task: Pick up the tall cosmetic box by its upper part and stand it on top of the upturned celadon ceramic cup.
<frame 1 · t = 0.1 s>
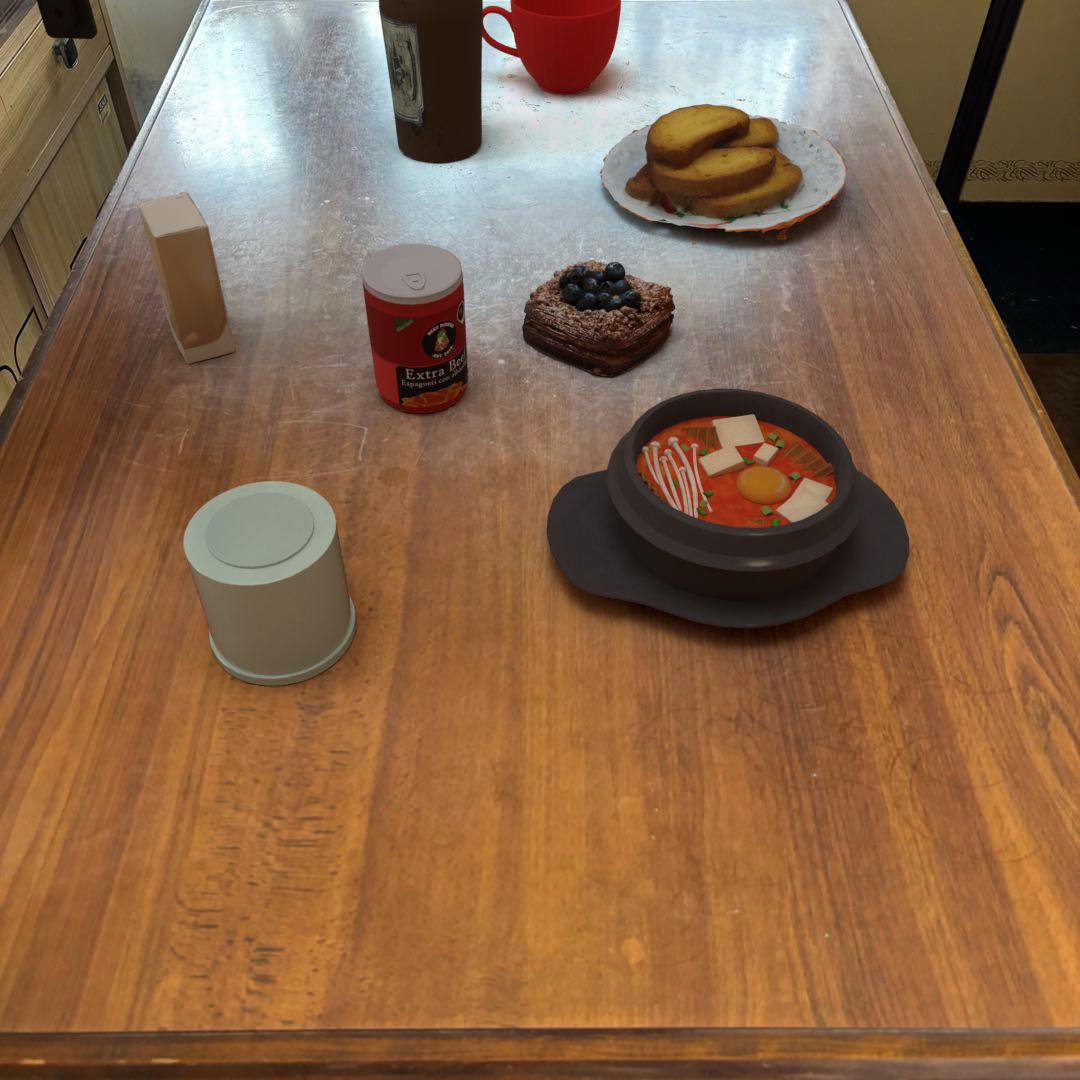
hand: (100, 10, 75), 28 cm above the table, tool pointing down, fingers open, 9 cm apart
cosmetic box: (203, 343, 96), on the table
ceramic cup: (548, 84, 136), on the table
casserole: (722, 548, 78), on the table
upturned cup: (284, 629, 72), on the table
canned food: (422, 388, 91), on the table
pastry: (595, 334, 97), on the table
food on plate: (720, 190, 116), on the table
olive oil: (439, 146, 124), on the table
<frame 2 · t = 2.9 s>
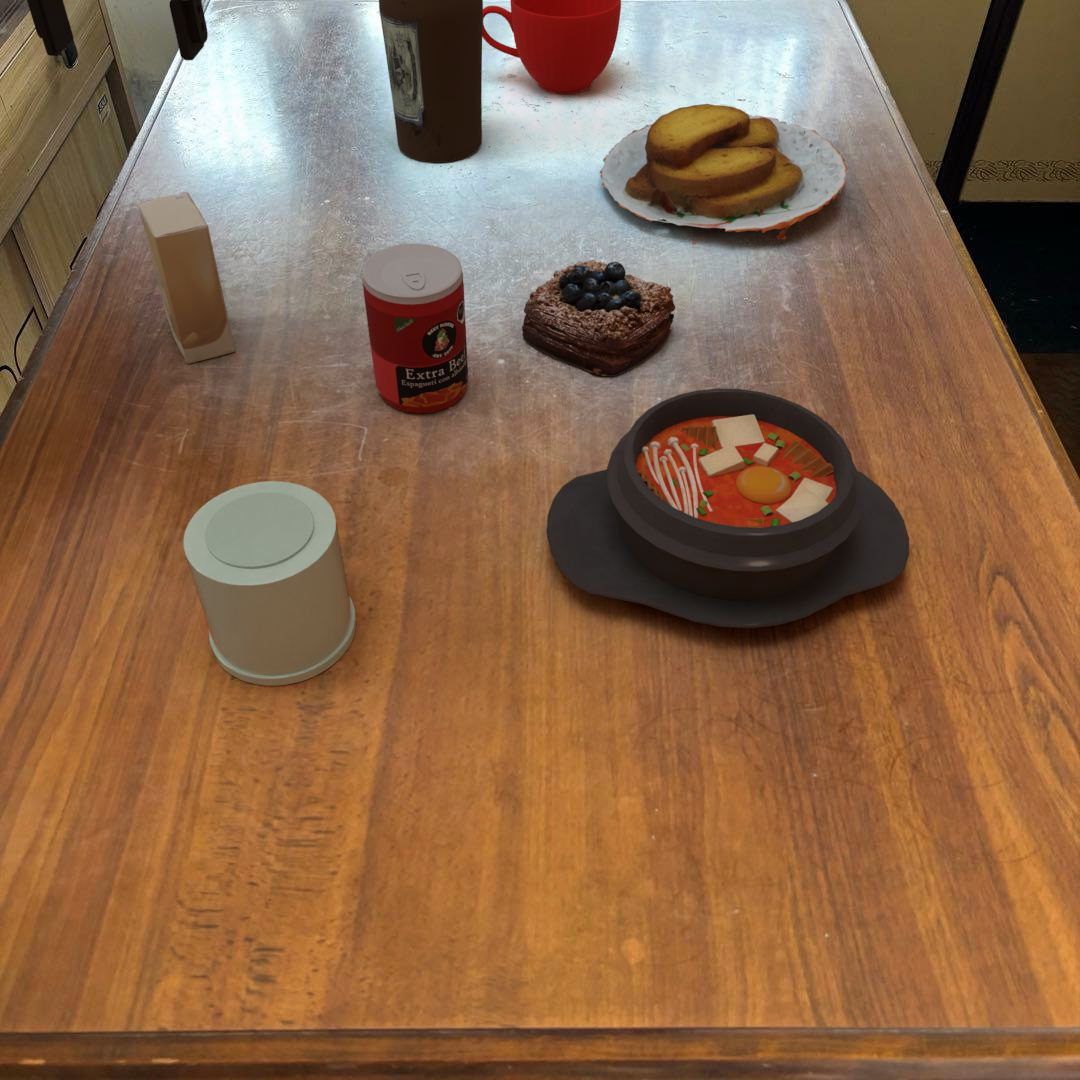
hand: (127, 50, 78), 25 cm above the table, tool pointing down, fingers open, 9 cm apart
nothing on the table moved.
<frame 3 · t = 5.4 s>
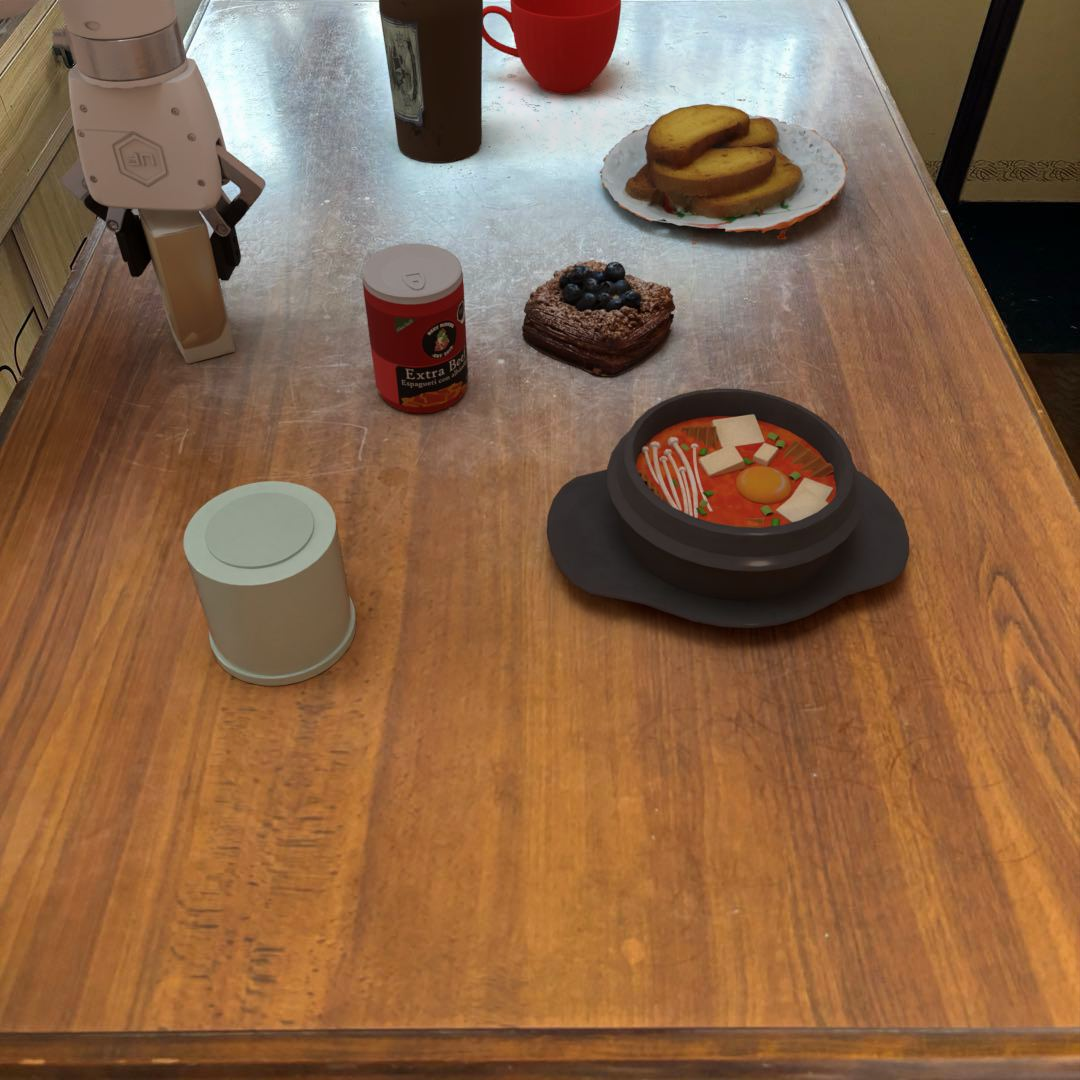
hand: (185, 268, 91), 7 cm above the table, tool pointing down, fingers closed on cosmetic box, 6 cm apart
cosmetic box: (203, 343, 96), on the table, touching gripper
everything else where it was.
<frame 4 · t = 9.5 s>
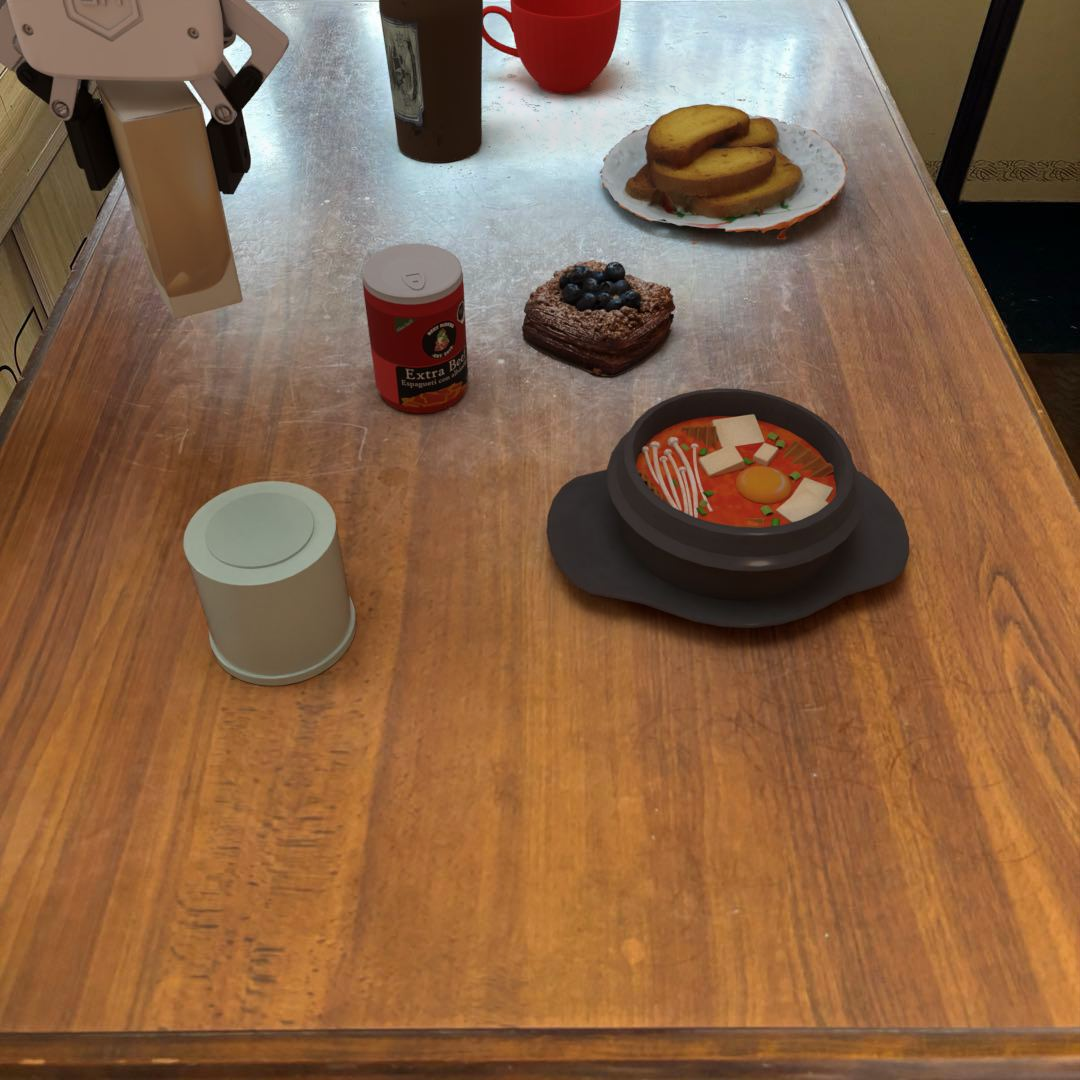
hand: (169, 179, 62), 26 cm above the table, tool pointing down, fingers closed on cosmetic box, 6 cm apart
cosmetic box: (197, 291, 67), point 18 cm above the table, touching gripper
everything else where it was.
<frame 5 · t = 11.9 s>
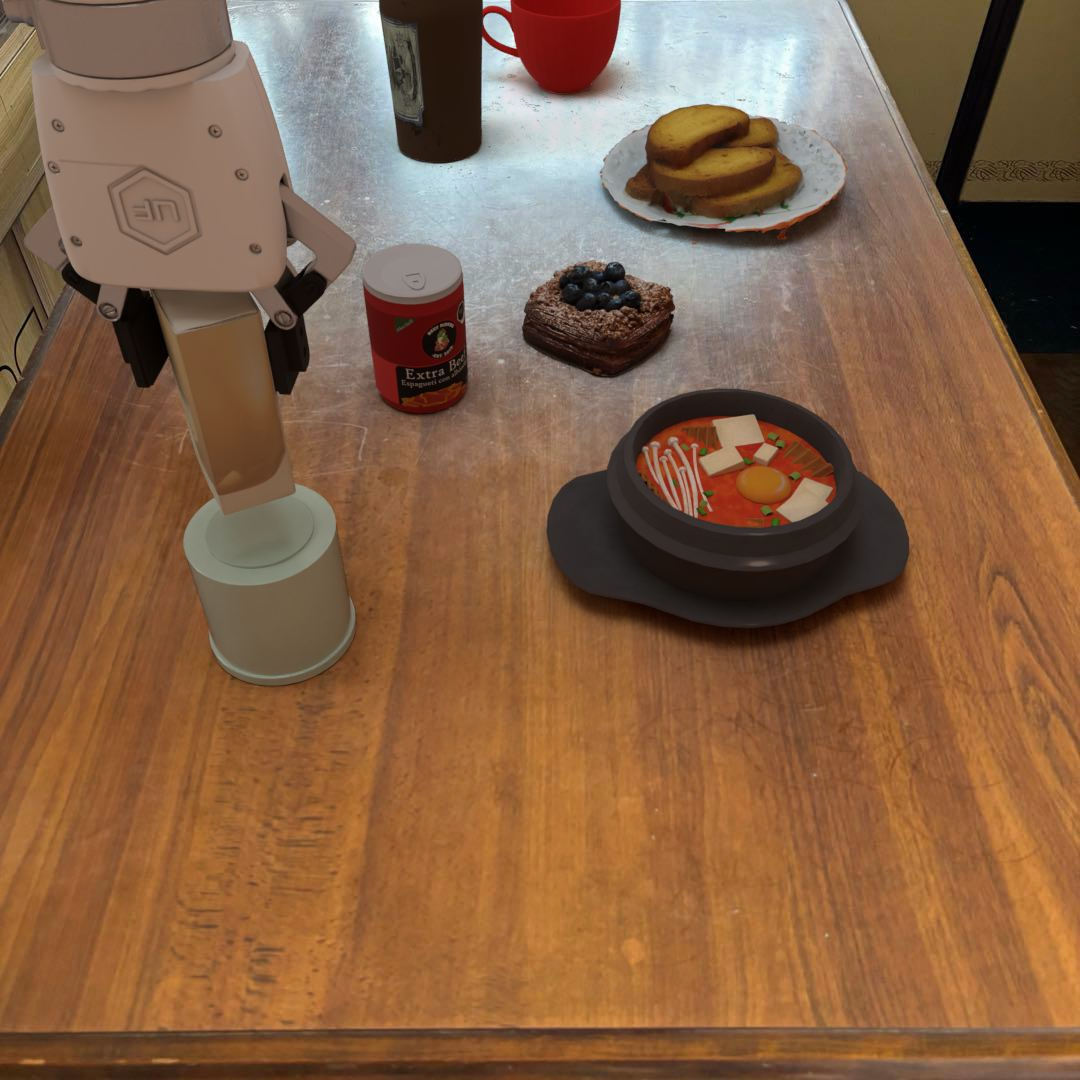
hand: (221, 373, 58), 20 cm above the table, tool pointing down, fingers closed on cosmetic box, 6 cm apart
cosmetic box: (246, 477, 63), point 13 cm above the table, touching gripper
everything else where it was.
when the fingers open (16 cm above the table, at t = 13.6 s): cosmetic box stays where it is, resting on upturned cup.
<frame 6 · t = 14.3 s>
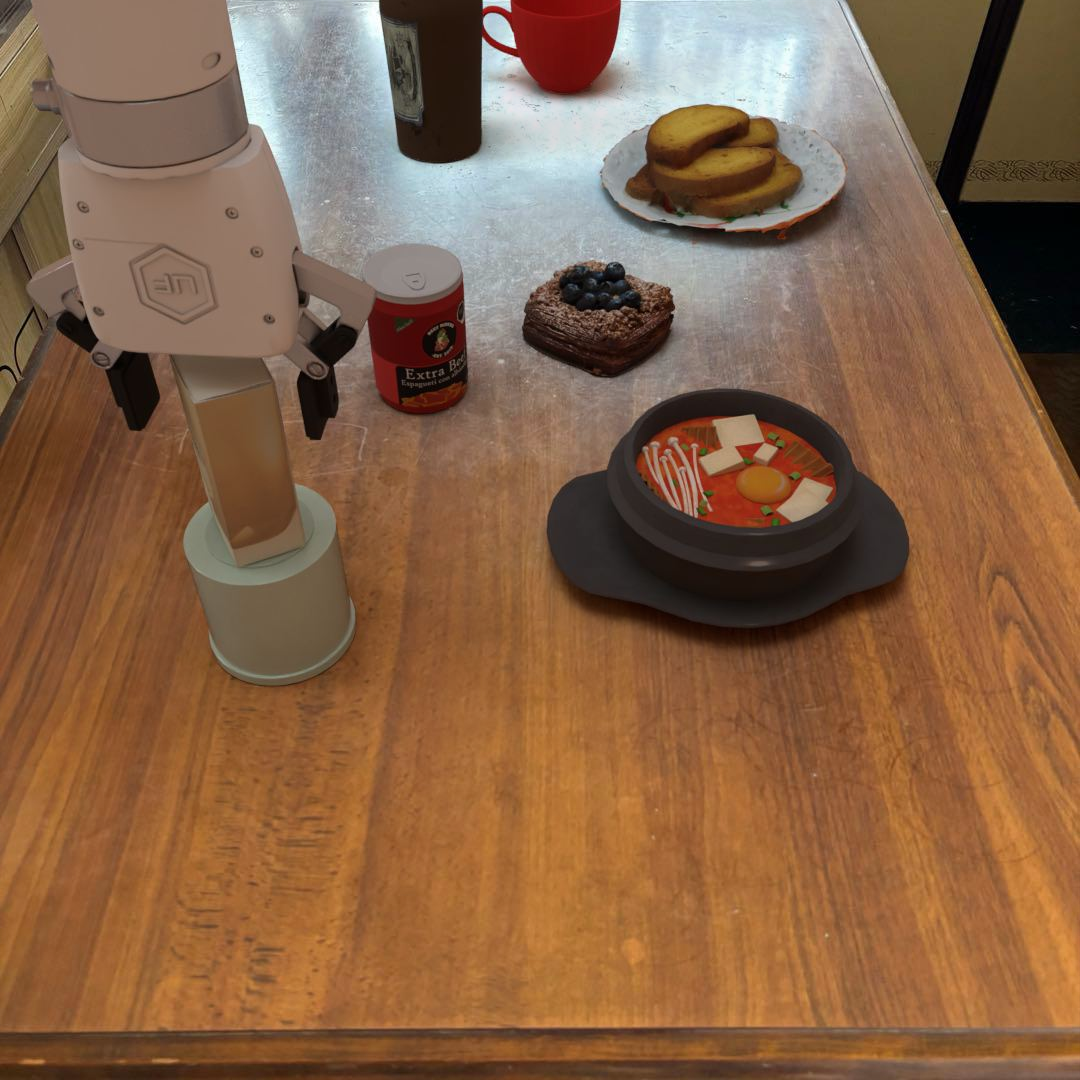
hand: (232, 419, 60), 17 cm above the table, tool pointing down, fingers open, 9 cm apart
cosmetic box: (258, 529, 66), point 9 cm above the table, touching upturned cup
everything else where it was.
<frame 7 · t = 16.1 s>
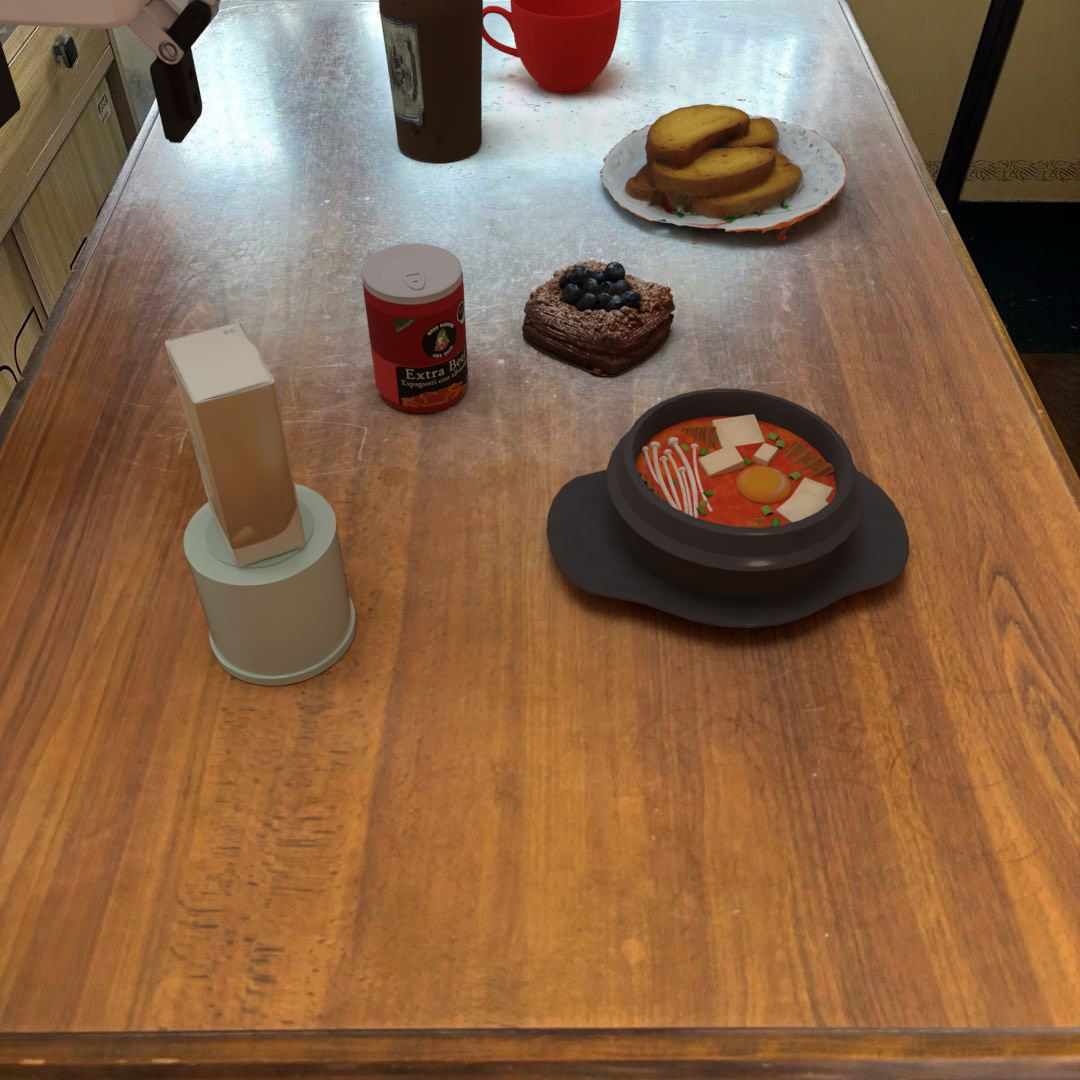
hand: (92, 126, 58), 30 cm above the table, tool pointing down, fingers open, 9 cm apart
nothing on the table moved.
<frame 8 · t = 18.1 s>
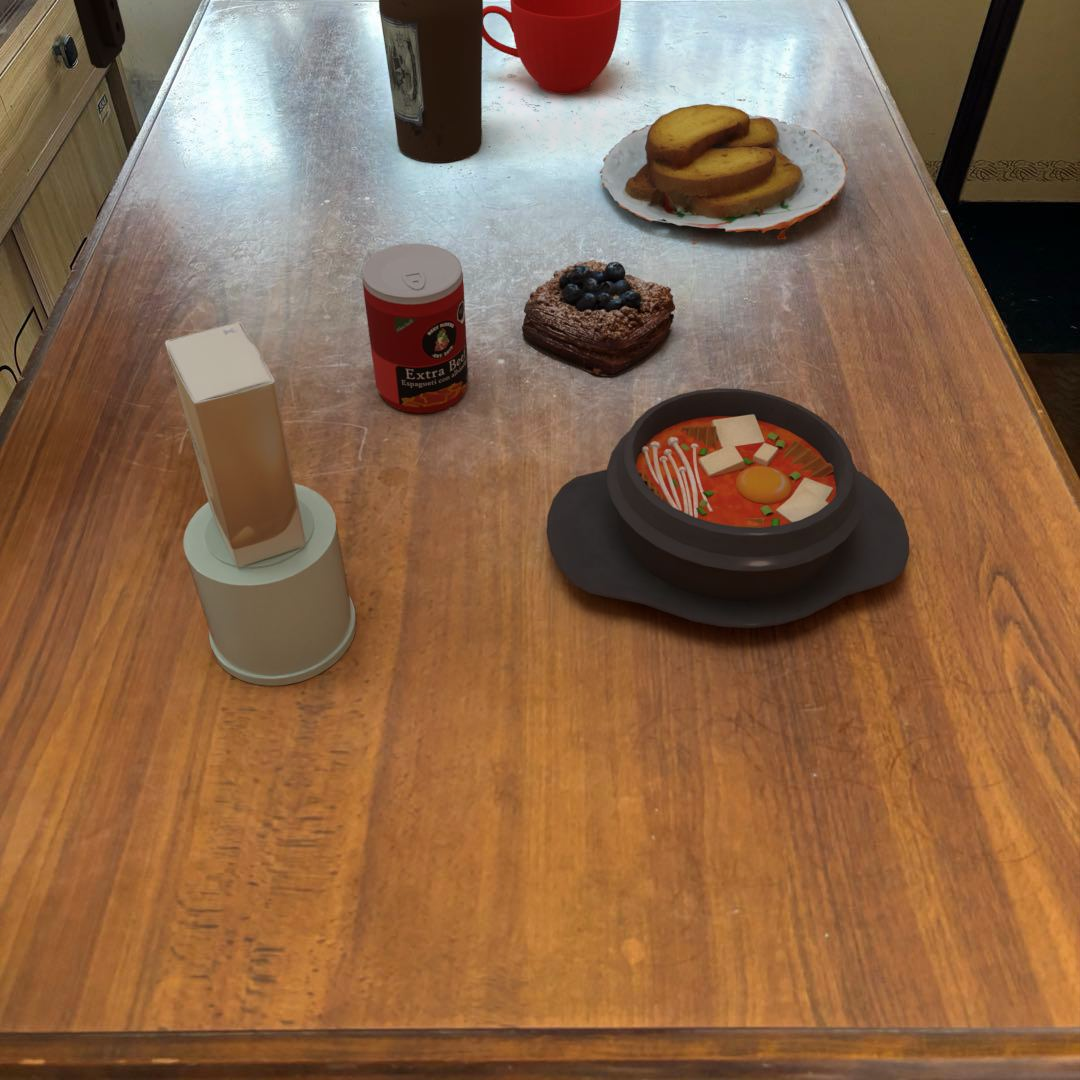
hand: (26, 56, 63), 30 cm above the table, tool pointing down, fingers open, 9 cm apart
nothing on the table moved.
at the end: cosmetic box 0.1 cm off-centre on the upturned cup, point 9.0 cm above the upturned cup's base; cosmetic box tilted 0°; the gripper is holding nothing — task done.
